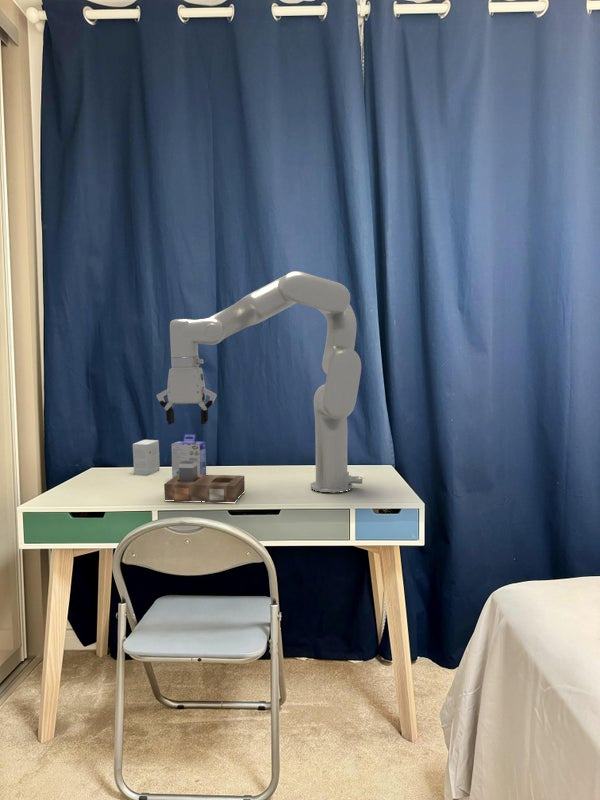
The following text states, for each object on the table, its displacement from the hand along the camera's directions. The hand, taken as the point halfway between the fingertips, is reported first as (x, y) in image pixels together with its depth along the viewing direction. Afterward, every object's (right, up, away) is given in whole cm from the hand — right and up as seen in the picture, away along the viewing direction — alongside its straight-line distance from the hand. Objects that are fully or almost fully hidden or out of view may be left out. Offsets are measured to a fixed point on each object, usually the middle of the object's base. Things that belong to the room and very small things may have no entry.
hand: (187, 423), depth 171 cm
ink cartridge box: (-3, -19, +22) cm, 29 cm away
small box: (-20, -18, +33) cm, 43 cm away
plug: (0, -21, +2) cm, 21 cm away
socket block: (+5, -21, +2) cm, 22 cm away
